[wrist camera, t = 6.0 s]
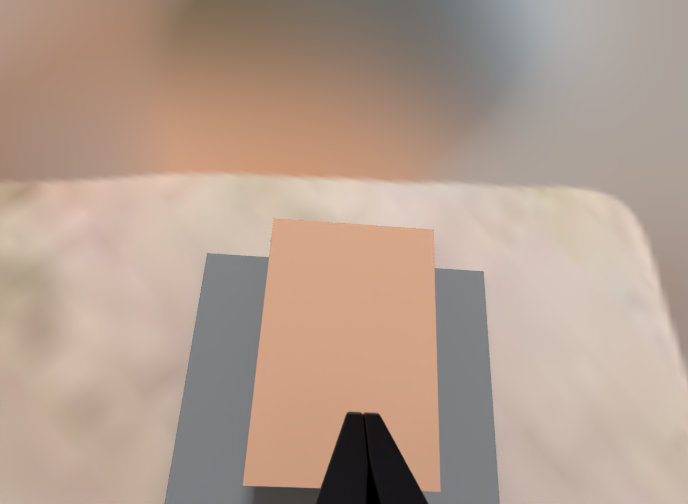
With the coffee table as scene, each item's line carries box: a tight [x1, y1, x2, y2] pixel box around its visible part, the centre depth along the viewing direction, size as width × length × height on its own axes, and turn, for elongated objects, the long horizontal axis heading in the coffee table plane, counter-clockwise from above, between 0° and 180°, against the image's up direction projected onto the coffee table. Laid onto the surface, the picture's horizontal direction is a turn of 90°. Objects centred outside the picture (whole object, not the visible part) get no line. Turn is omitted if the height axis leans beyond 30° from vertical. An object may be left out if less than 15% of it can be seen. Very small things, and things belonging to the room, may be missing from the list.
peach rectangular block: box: [243, 218, 441, 492], centre depth 15 cm, size 3×7×10 cm
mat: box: [165, 253, 500, 504], centre depth 15 cm, size 18×14×1 cm
